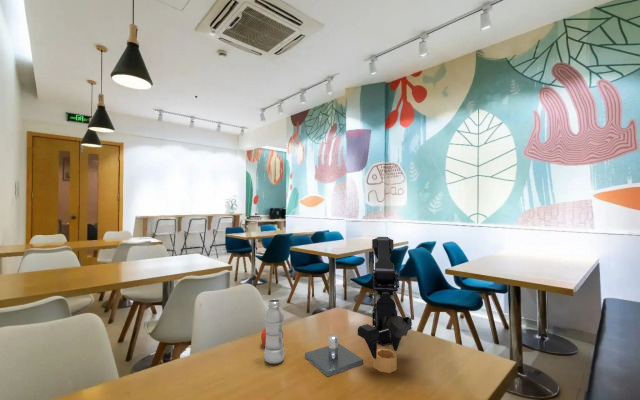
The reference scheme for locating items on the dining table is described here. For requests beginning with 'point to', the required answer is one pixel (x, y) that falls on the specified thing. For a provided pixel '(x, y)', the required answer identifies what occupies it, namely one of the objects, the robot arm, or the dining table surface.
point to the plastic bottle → (274, 333)
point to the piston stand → (333, 358)
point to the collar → (385, 361)
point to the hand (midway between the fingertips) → (385, 354)
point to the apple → (263, 336)
